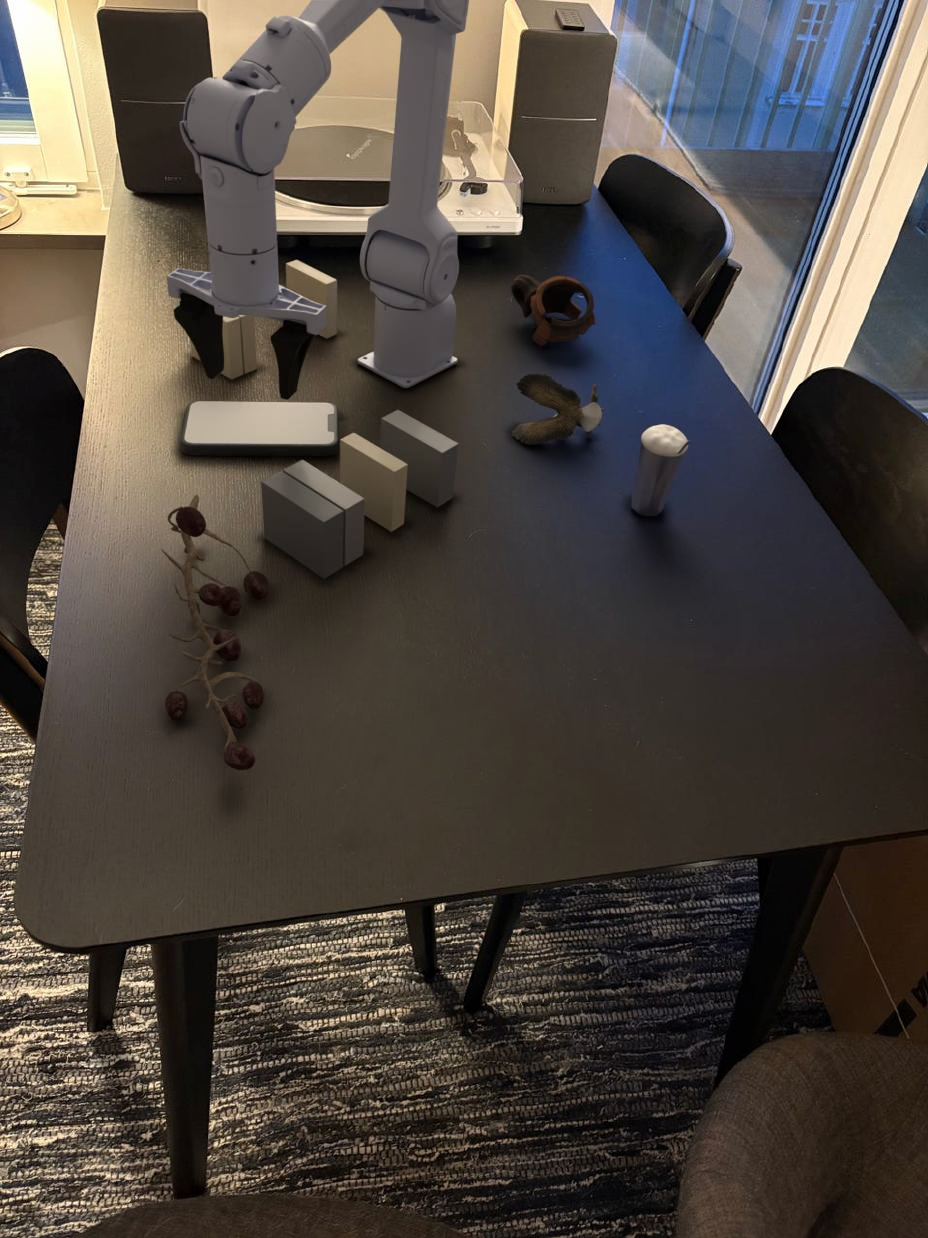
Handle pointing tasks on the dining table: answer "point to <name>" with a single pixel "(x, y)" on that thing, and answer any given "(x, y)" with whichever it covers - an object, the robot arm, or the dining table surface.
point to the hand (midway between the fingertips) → (251, 383)
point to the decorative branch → (215, 637)
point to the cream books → (242, 328)
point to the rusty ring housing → (554, 306)
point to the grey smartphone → (260, 428)
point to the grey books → (350, 496)
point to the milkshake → (657, 468)
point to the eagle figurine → (561, 401)
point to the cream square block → (374, 480)
